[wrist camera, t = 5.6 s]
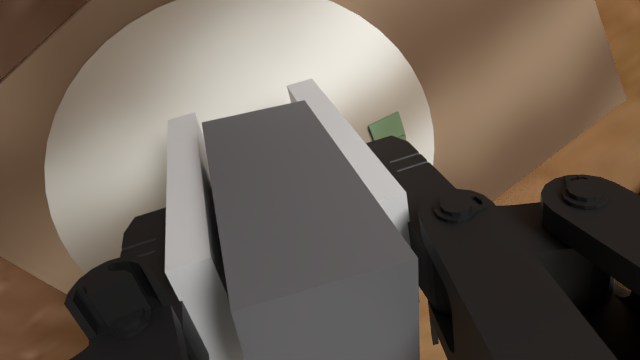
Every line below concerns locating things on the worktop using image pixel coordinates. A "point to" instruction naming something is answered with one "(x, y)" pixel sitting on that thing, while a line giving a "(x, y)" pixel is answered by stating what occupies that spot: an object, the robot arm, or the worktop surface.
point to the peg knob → (307, 244)
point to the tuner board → (280, 99)
